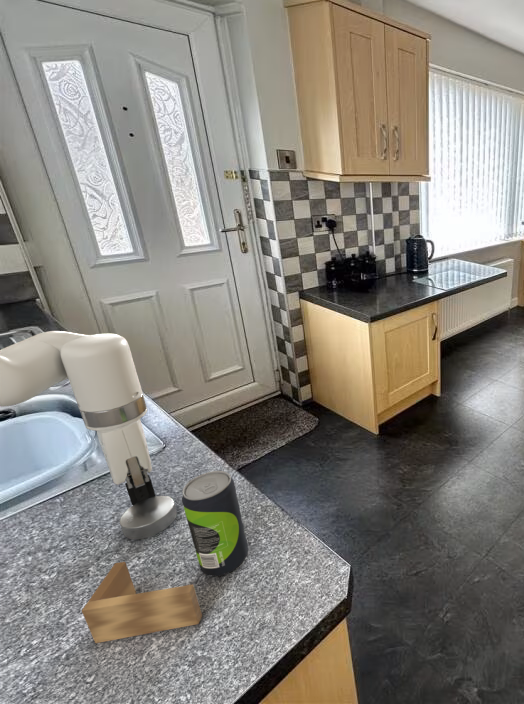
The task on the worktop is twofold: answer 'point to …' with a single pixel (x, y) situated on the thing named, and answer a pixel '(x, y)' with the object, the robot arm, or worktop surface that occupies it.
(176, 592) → the corner guard
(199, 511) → the beverage can
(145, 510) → the brushed steel puck
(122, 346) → the robot arm
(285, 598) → the worktop surface
